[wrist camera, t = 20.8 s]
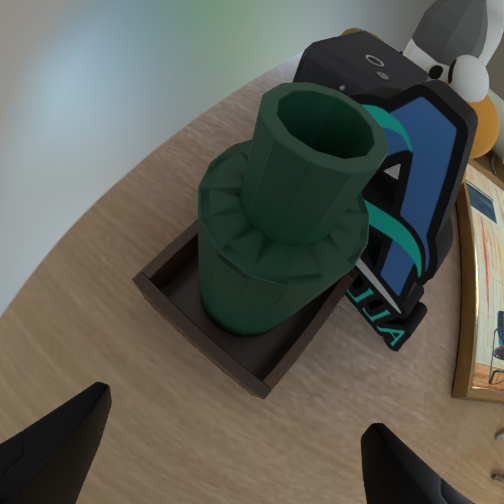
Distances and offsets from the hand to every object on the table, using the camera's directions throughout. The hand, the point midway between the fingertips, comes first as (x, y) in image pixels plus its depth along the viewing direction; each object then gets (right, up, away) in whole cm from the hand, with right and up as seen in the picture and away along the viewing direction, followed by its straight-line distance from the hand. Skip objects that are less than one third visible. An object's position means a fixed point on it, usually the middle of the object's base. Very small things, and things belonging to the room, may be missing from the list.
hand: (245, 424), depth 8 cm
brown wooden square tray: (0, +3, +11) cm, 12 cm away
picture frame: (+36, +1, +17) cm, 40 cm away
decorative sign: (+6, +6, +14) cm, 16 cm away
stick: (+27, -21, +6) cm, 35 cm away
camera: (+9, +17, +20) cm, 28 cm away
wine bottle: (+21, +24, +25) cm, 41 cm away
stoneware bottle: (0, +3, +11) cm, 11 cm away
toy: (+19, +12, +18) cm, 29 cm away
